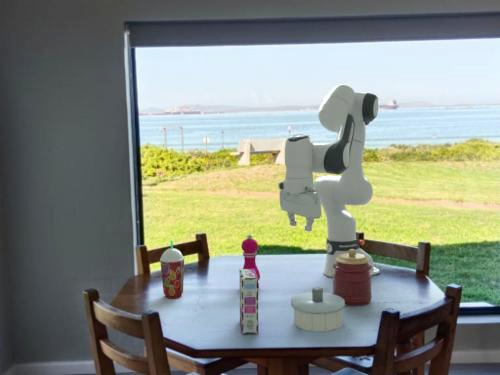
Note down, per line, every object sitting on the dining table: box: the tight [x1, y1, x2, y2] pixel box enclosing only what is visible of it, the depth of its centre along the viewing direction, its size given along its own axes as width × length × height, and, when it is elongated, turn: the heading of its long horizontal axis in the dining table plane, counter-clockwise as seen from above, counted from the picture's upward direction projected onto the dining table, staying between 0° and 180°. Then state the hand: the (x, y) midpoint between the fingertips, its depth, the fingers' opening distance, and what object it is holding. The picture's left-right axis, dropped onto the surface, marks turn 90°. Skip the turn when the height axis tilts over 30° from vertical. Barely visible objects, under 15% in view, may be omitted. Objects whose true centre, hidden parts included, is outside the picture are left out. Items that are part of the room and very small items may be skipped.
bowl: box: [293, 308, 343, 332], centre depth 157 cm, size 14×14×6 cm
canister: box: [332, 249, 373, 307], centre depth 176 cm, size 13×13×18 cm
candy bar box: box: [238, 268, 259, 335], centre depth 153 cm, size 11×5×16 cm, turn 5°
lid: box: [290, 286, 346, 314], centre depth 156 cm, size 16×16×5 cm
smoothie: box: [159, 240, 185, 300], centre depth 183 cm, size 8×8×20 cm
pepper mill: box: [241, 234, 261, 289], centre depth 190 cm, size 7×7×20 cm
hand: (300, 228), depth 168 cm, fingers open, 8 cm apart
